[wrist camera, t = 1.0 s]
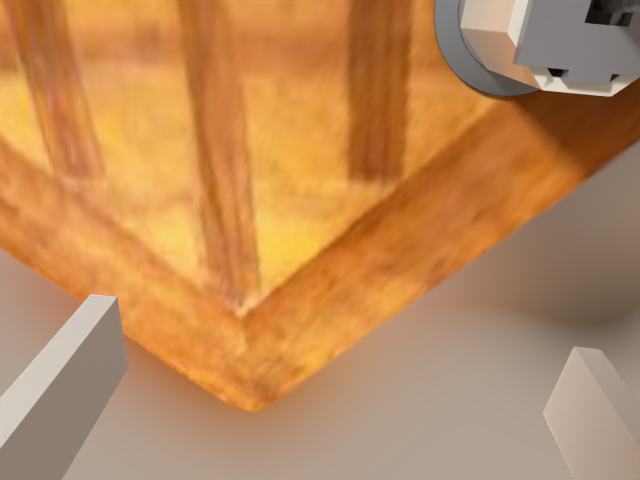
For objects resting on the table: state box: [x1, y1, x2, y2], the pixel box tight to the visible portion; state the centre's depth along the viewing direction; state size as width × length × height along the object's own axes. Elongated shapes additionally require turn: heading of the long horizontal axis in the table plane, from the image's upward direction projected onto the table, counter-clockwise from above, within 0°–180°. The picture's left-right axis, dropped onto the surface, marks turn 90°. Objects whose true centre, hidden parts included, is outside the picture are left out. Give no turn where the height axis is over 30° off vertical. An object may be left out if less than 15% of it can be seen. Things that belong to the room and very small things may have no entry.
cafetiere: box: [458, 0, 640, 97], centre depth 30 cm, size 10×13×14 cm
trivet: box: [434, 0, 540, 96], centre depth 36 cm, size 14×14×1 cm
